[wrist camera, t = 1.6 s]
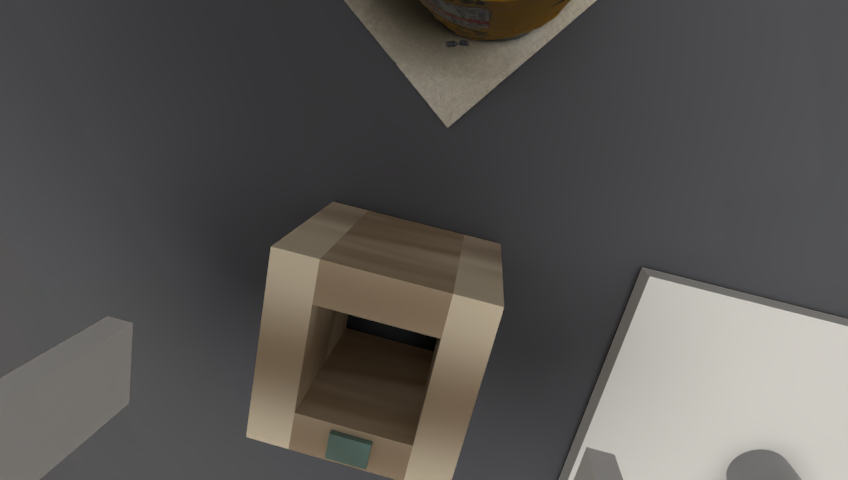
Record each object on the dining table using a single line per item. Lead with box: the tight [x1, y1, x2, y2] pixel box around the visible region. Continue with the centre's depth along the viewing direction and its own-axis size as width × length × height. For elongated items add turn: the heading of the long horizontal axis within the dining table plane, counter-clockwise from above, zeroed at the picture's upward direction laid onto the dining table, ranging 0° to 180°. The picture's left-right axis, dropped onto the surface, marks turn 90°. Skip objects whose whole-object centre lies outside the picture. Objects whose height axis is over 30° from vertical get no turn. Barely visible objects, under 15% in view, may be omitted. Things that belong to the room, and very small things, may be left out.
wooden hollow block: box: [246, 202, 504, 480], centre depth 18 cm, size 7×7×6 cm
